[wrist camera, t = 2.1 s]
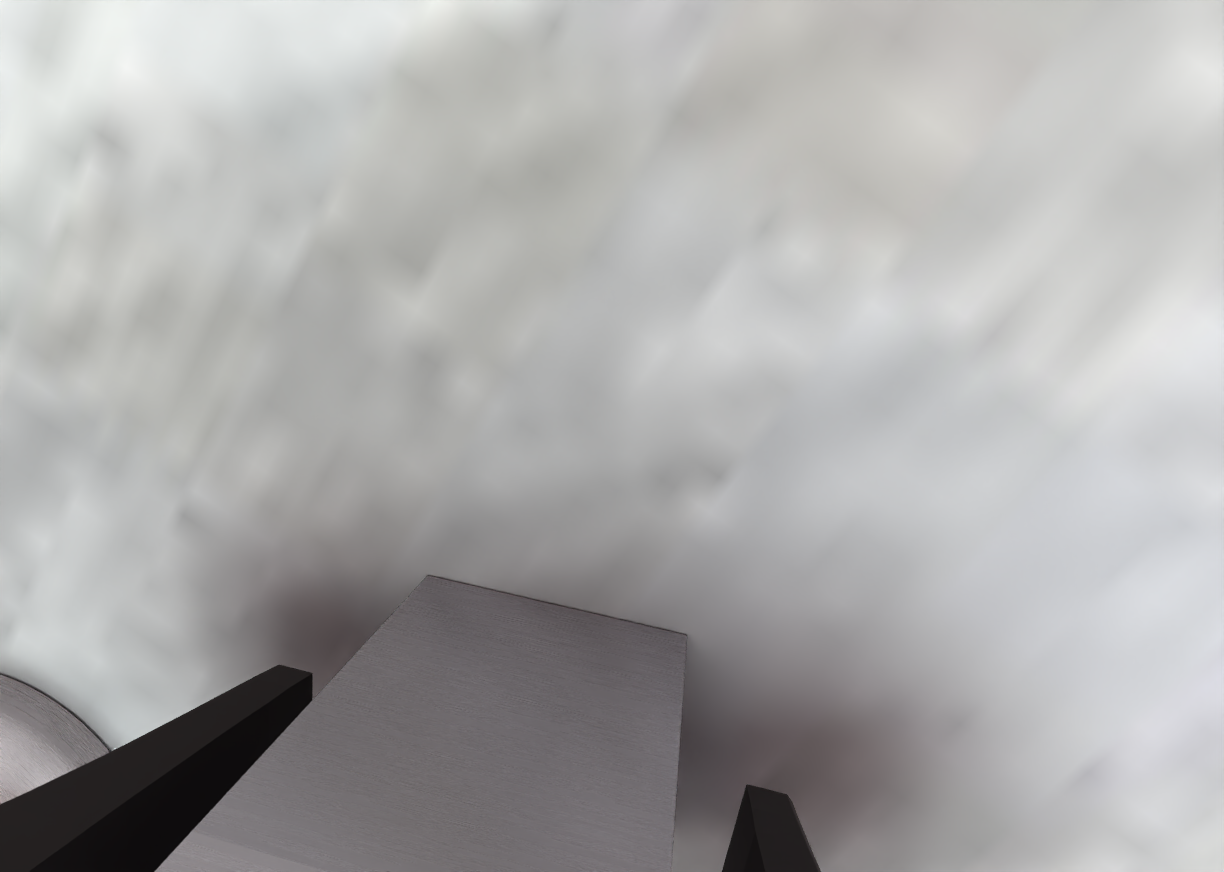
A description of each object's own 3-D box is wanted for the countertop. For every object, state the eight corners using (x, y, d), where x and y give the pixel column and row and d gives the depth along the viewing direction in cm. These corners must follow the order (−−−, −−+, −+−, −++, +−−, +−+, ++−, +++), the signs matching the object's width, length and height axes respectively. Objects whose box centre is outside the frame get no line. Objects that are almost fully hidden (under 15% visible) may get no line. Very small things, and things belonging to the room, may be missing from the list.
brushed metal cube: (641, 840, 11) (568, 1421, 6) (412, 778, 12) (134, 1255, 6) (686, 635, 10) (653, 1126, 4) (427, 575, 10) (87, 944, 5)
